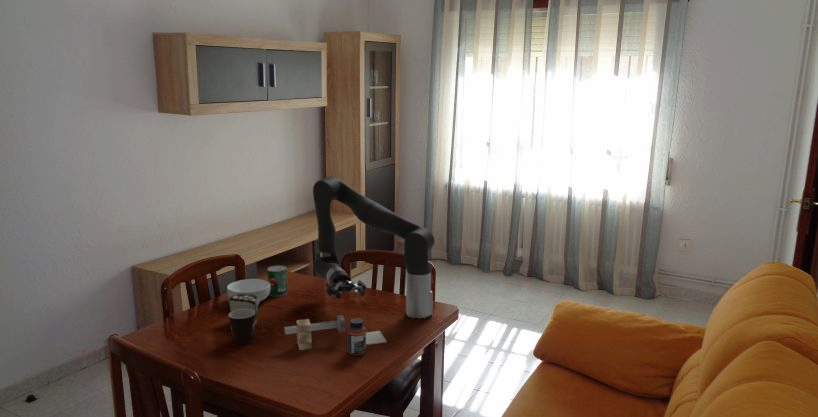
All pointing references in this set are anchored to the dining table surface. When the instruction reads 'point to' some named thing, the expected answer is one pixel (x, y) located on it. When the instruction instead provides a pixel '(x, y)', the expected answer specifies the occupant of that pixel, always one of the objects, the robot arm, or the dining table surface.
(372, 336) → the mat
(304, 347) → the keeper
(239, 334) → the coffee mug
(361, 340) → the supplement bottle
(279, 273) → the canned tomato
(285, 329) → the t bolt
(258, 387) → the dining table surface
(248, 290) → the cereal bowl
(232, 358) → the dining table surface
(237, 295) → the food container
